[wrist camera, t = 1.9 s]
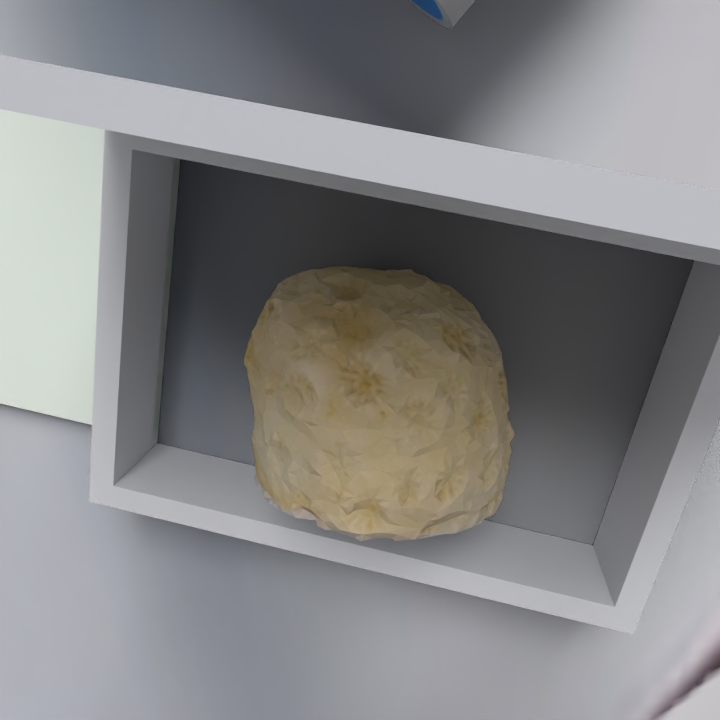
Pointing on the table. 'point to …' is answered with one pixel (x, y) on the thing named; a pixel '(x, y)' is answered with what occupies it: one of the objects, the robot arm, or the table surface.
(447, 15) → the sign
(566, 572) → the case
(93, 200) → the mat
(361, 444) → the coral
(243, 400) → the table surface
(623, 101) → the table surface
